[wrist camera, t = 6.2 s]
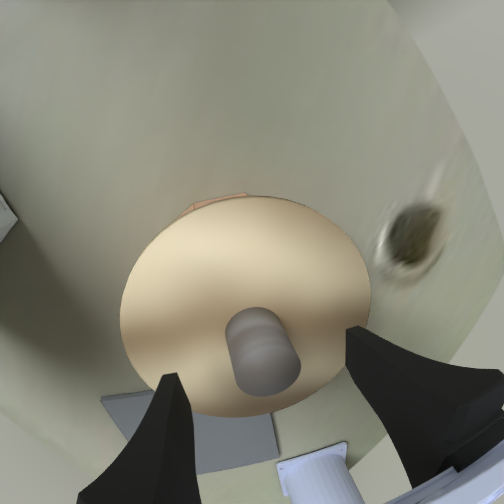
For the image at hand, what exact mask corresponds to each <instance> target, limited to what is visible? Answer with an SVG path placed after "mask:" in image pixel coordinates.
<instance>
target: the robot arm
mask: <svg viewBox="0 0 504 504" xmlns="http://www.w3.org/2000/svg"><path fill="white" fill-rule="evenodd" d="M345 365H346V367H347V369H348V371H349V373H350V375H351V377H352V379H353V381H354V382H355V384H356V385H357V387H358V388H359V390H360V391H361V393H362V394H363V396H364V397H365V398H366V400H367V401H368V403H369V404H370V405H371V407H372V408H373V410H374V411H375V412H376V414H377V415H378V417H379V418H380V420H381V421H382V423H383V425H384V427H385V429H386V430H387V432H388V434H389V436H390V438H391V440H392V442H393V444H394V446H395V448H396V450H397V452H398V455H399V457H400V459H401V461H402V464H403V466H404V468H405V471H406V473H407V476H408V478H409V481H410V484H411V486H412V490H410V491H409V492H407V493H404V494H403V495H401V496H399V497H396V498H394V499H392V500H390V501H388V502H386V503H384V504H492V503H493V502H494V501H495V500H497V499H498V498H499V497H500V496H501V495H502V494H504V411H503V410H502V409H501V408H502V406H503V404H504V374H503V373H502V372H501V371H500V370H498V369H476V368H468V367H461V366H455V365H450V364H446V363H442V362H438V361H435V360H431V359H428V358H425V357H422V356H420V355H417V354H415V353H412V352H410V351H408V350H405V349H403V348H401V347H399V346H397V345H395V344H393V343H391V342H389V341H387V340H385V339H383V338H381V337H379V336H377V335H376V334H374V333H372V332H370V331H368V330H366V329H364V328H363V327H361V326H359V325H357V326H354V327H351V328H348V329H346V350H345ZM346 452H347V443H346V442H342V443H339V444H336V445H333V446H330V447H327V448H325V449H322V450H319V451H316V452H312V453H309V454H306V455H303V456H300V457H296V458H293V459H289V460H286V461H282V462H279V463H277V464H276V467H277V471H278V475H279V479H280V484H281V488H282V492H283V495H284V496H289V498H290V501H291V503H292V504H365V502H364V500H363V498H362V496H361V494H360V492H359V490H358V489H357V487H356V484H355V483H354V481H353V479H352V477H351V475H350V473H349V471H348V469H347V467H346V465H345V460H346ZM76 504H201V499H200V494H199V488H198V483H197V477H196V465H195V439H194V422H193V416H192V409H191V404H190V402H189V399H188V397H187V395H186V393H185V390H184V388H183V385H182V383H181V381H180V378H179V376H178V373H177V372H175V373H169V374H164V375H162V377H161V379H160V381H159V384H158V386H157V389H156V391H155V394H154V396H153V398H152V400H151V402H150V405H149V407H148V409H147V411H146V413H145V415H144V417H143V419H142V420H141V422H140V424H139V426H138V428H137V430H136V431H135V433H134V434H133V436H132V438H131V439H130V441H129V442H128V444H127V445H126V446H125V448H124V449H123V450H122V452H121V453H120V454H119V456H118V457H117V458H116V459H115V460H114V462H113V463H112V464H111V465H110V466H109V467H108V468H107V469H106V470H105V471H104V472H103V473H102V474H101V475H100V476H99V477H98V478H97V479H96V480H95V481H94V482H92V483H91V484H90V485H88V486H87V487H86V488H85V489H83V490H82V491H81V492H79V494H78V498H77V503H76Z"/></svg>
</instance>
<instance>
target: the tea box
mask: <svg viewBox="0 0 504 504" xmlns="http://www.w3.org/2000/svg"><path fill="white" fill-rule="evenodd" d="M17 221H18V218H17V217H16V216H15V215H14V214H13V212H12V211H11V210H10V208H9V207H8V205H7V204H6V202H5V200H4V198H3V197H2V196H1V194H0V243H1V241H2V240H3V239H4V238H5V236H6V235H7V233H8V232H9V231H10V229H11V228H12V227H13V226H14V224H15V223H16V222H17Z"/></svg>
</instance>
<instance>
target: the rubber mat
mask: <svg viewBox="0 0 504 504" xmlns="http://www.w3.org/2000/svg"><path fill="white" fill-rule="evenodd" d="M154 394H155V391H154V390H150V391H143V392H136V393H129V394H122V395H114V396H105V397H101V403H102V404H103V406H104V407H105V409H106V410H107V412H108V414H109V415H110V417H111V418H112V420H113V421H114V422H115V424H116V425H117V427H118V428H119V430H120V431H121V433H122V434H123V435H124V437H125V438H126V440H127V441H128V442H129V441H130V439H131V438H132V436H133V434H134V433H135V431H136V430H137V428H138V426H139V424H140V422H141V420H142V419H143V417H144V415H145V413H146V411H147V409H148V407H149V405H150V402H151V400H152V398H153V396H154ZM192 416H193V422H194V439H195V465H196V475H197V474H204V473H210V472H216V471H221V470H227V469H232V468H237V467H242V466H246V465H251V464H255V463H259V462H264V461H268V460H272V459H275V458H279V453H278V448H277V443H276V439H275V434H274V429H273V424H272V419H271V415H270V413H268V414H263V415H258V416H252V417H241V418H225V417H215V416H209V415H204V414H199V413H196V412H193V411H192Z"/></svg>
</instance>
